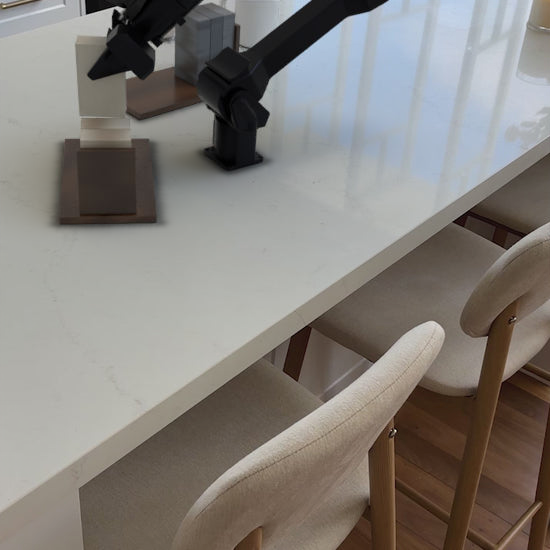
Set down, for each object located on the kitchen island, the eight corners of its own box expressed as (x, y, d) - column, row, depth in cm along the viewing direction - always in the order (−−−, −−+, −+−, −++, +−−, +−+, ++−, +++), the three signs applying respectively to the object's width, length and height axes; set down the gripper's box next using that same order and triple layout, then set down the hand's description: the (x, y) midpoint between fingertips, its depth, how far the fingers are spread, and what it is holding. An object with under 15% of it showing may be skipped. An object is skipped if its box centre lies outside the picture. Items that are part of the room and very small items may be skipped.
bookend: (248, 87, 149) (253, 17, 142) (140, 120, 136) (139, 44, 129) (203, 63, 156) (205, -5, 149) (95, 92, 142) (92, 19, 136)
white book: (126, 108, 121) (124, 37, 115) (124, 118, 118) (122, 46, 112) (82, 106, 120) (77, 35, 114) (79, 116, 118) (74, 43, 112)
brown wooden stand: (149, 144, 129) (149, 73, 123) (156, 222, 112) (156, 144, 106) (65, 144, 127) (60, 72, 121) (59, 224, 110) (53, 144, 104)
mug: (207, 38, 166) (209, -17, 160) (228, 26, 172) (231, -28, 166) (265, 53, 162) (269, -3, 156) (284, 39, 168) (289, -15, 162)
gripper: (134, -78, 114) (53, 3, 120) (122, -34, 99) (30, 56, 104) (195, -13, 119) (114, 61, 125) (192, 37, 104) (101, 119, 110)
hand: (91, 72), depth 116 cm, fingers closed on white book, 3 cm apart
